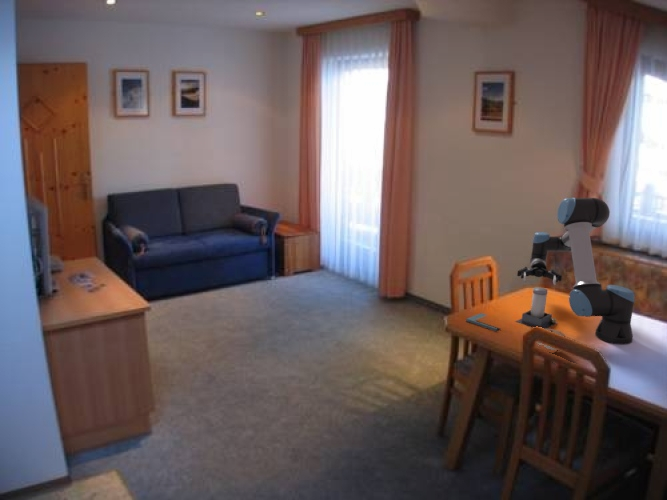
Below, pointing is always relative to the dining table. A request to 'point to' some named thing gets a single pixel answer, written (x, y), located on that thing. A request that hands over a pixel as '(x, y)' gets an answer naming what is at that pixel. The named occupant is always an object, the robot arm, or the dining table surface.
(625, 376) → the dining table surface
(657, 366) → the dining table surface
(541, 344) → the lidded jar
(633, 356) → the dining table surface
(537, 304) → the cylinder
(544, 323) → the housing
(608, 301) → the robot arm
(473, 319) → the mat
